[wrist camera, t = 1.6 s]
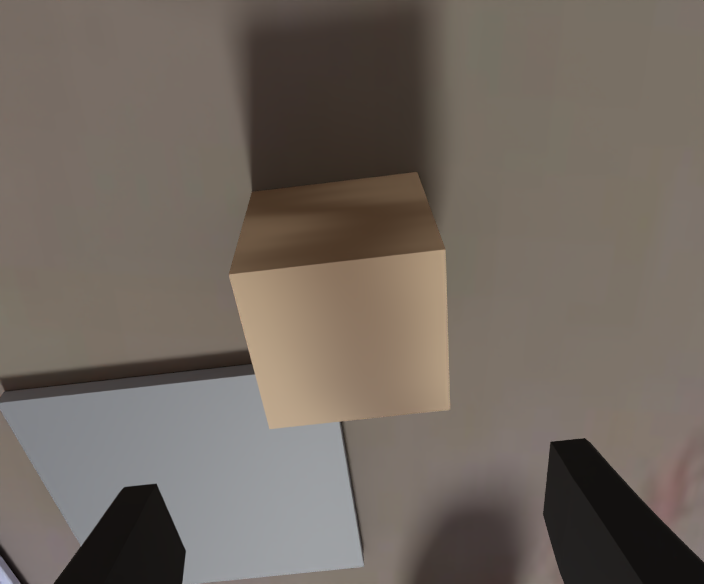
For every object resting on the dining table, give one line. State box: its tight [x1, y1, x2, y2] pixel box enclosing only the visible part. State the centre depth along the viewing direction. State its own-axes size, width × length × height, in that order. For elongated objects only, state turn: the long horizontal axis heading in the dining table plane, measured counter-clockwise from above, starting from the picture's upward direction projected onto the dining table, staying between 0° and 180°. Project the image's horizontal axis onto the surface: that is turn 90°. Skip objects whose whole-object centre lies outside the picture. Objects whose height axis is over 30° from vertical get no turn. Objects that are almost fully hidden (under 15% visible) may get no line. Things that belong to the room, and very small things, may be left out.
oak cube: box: [229, 172, 450, 429], centre depth 17 cm, size 5×5×5 cm
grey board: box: [0, 364, 364, 584], centre depth 24 cm, size 12×12×1 cm
